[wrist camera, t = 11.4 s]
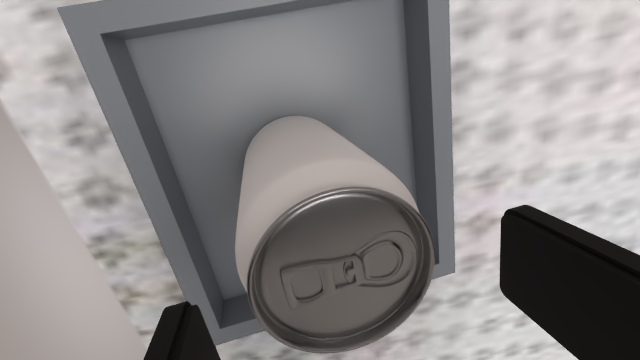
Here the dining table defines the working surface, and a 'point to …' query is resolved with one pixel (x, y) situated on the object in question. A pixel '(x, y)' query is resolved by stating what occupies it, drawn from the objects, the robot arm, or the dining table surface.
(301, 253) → the can
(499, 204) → the dining table surface
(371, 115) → the tray
